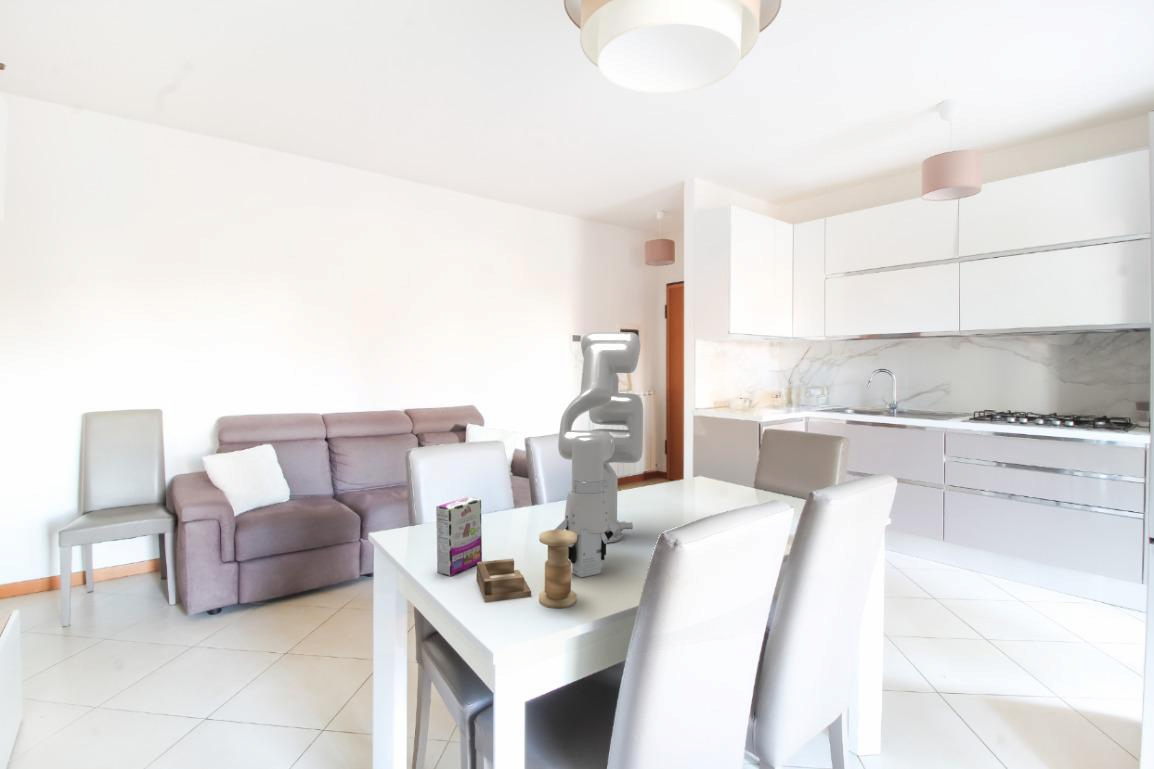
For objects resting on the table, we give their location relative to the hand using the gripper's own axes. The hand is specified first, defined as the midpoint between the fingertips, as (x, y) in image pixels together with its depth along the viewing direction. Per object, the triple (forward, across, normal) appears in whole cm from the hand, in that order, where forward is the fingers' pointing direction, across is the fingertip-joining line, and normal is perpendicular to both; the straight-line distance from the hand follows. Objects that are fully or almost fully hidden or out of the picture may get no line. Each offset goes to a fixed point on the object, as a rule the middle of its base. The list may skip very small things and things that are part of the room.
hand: (586, 559), depth 133 cm
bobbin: (+3, +11, +13) cm, 17 cm away
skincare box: (+4, 0, 0) cm, 4 cm away
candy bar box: (+4, +29, -12) cm, 32 cm away
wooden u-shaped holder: (+3, +21, +3) cm, 21 cm away
